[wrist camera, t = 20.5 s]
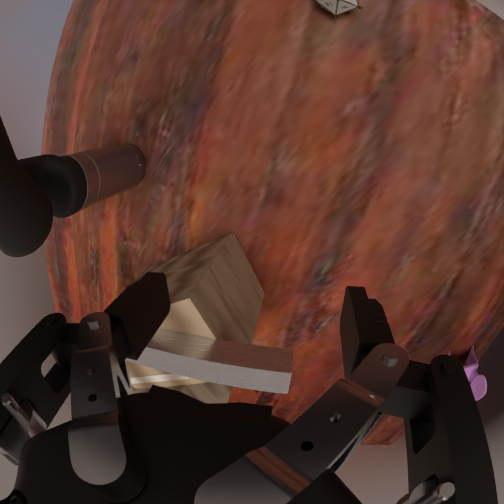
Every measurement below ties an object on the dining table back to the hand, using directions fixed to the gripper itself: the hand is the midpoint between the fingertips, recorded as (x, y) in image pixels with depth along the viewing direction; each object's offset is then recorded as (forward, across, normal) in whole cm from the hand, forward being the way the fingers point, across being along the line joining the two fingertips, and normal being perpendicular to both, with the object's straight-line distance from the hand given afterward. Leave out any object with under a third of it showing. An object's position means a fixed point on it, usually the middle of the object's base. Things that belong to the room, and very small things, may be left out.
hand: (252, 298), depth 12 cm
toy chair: (+38, +48, -42) cm, 74 cm away
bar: (+16, -10, -19) cm, 27 cm away
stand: (+38, -18, -30) cm, 52 cm away
